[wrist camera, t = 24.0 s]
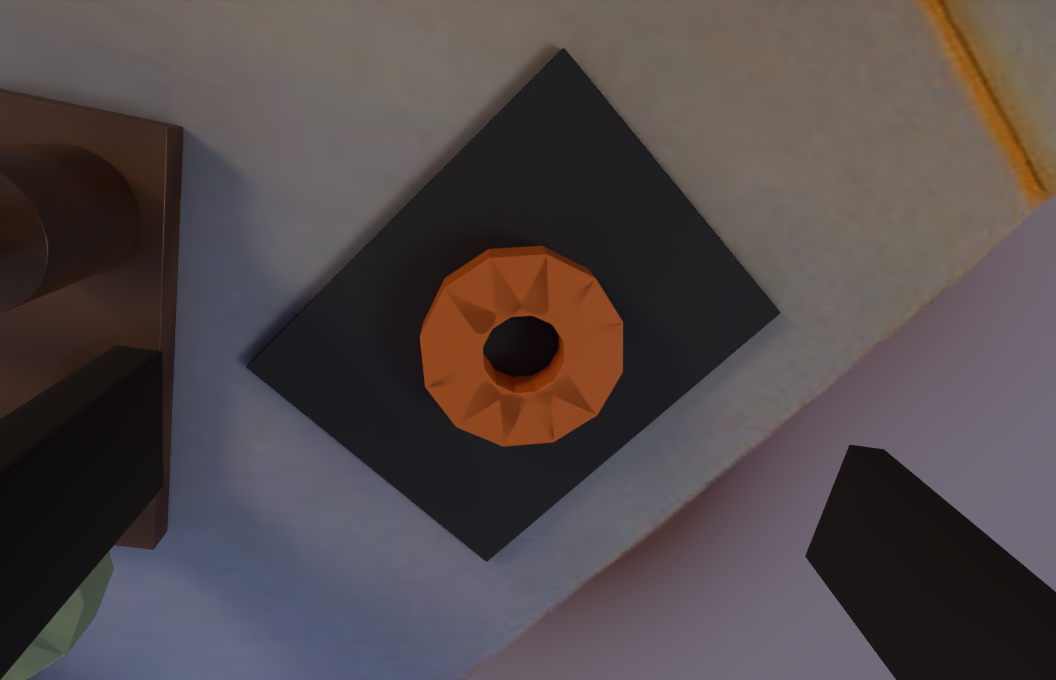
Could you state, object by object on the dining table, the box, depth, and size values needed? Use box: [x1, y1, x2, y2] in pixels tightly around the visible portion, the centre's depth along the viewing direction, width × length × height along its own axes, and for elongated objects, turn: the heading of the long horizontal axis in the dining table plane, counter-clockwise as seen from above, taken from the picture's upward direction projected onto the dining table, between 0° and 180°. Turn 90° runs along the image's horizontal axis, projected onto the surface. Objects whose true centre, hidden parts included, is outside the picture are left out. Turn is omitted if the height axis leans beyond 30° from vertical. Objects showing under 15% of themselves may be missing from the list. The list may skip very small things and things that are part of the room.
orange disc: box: [420, 246, 623, 447], centre depth 29 cm, size 9×9×2 cm
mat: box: [247, 48, 780, 562], centre depth 30 cm, size 20×16×1 cm
